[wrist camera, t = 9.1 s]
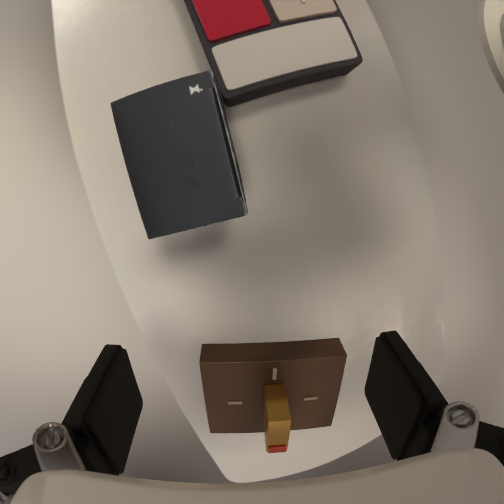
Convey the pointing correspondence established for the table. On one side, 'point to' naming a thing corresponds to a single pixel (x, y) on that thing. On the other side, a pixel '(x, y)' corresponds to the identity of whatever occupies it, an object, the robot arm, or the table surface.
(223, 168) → the box
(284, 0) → the calculator
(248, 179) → the table surface
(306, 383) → the plate
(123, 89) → the table surface
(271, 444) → the lock knob
